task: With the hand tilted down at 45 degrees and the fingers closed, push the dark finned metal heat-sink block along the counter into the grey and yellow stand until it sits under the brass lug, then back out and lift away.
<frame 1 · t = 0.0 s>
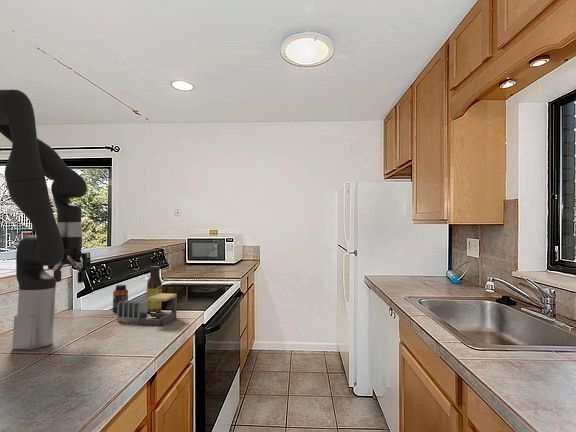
hand: (69, 282, 120), 17 cm above the worktop, tool pointing down, fingers open, 8 cm apart
grey and yellow stand: (156, 321, 136), on the worktop
heatsink block: (132, 320, 137), on the worktop
supplement bottle: (120, 311, 152), on the worktop
sauce bottle: (153, 312, 152), on the worktop
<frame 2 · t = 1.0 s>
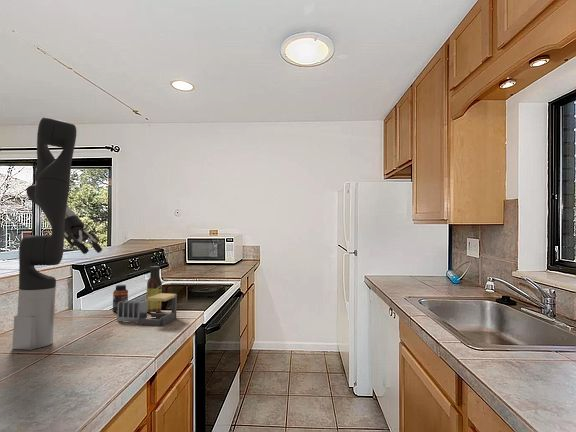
hand: (93, 251, 135), 27 cm above the worktop, tool tilted 45°, fingers open, 7 cm apart
nothing on the worktop moved.
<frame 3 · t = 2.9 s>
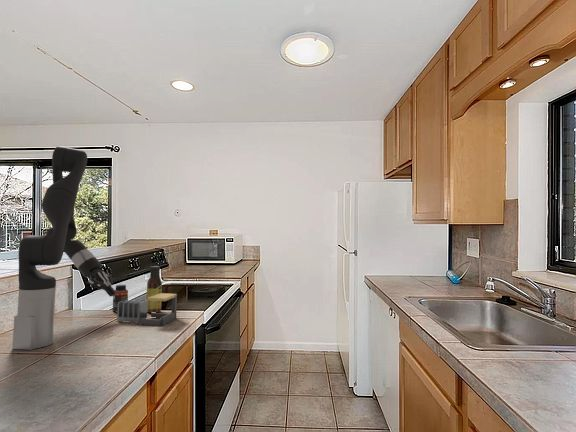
hand: (113, 294, 139), 10 cm above the worktop, tool tilted 45°, fingers closed
nothing on the worktop moved.
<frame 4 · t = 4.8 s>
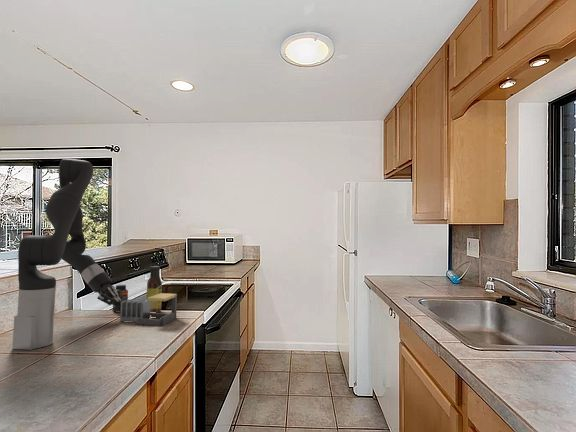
hand: (123, 310, 137), 4 cm above the worktop, tool tilted 45°, fingers closed
heatsink block: (135, 320, 137), on the worktop, touching gripper
everything else where it was.
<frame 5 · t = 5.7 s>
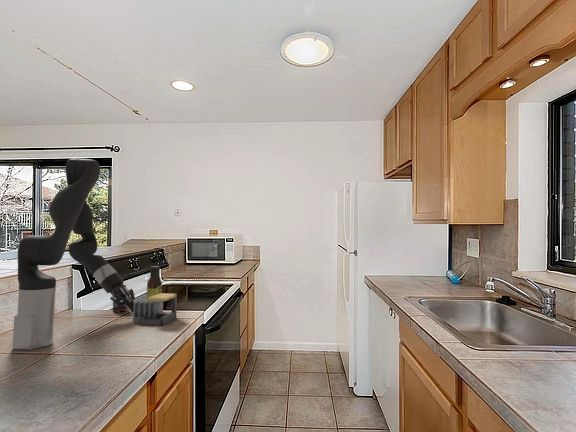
hand: (136, 310, 137), 4 cm above the worktop, tool tilted 45°, fingers closed
heatsink block: (147, 320, 136), on the worktop, touching gripper
everything else where it was.
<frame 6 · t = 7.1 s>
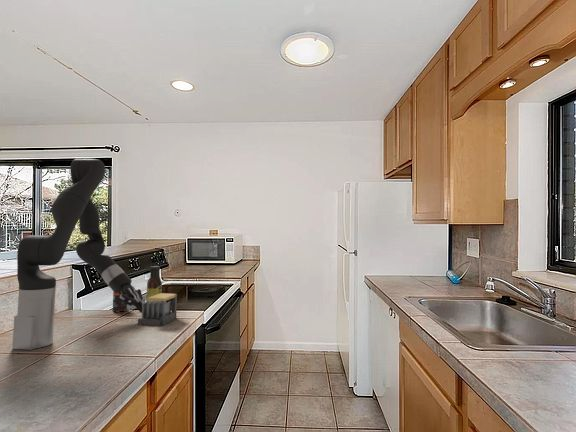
hand: (144, 310, 136), 4 cm above the worktop, tool tilted 45°, fingers closed
heatsink block: (156, 321, 136), on the worktop, touching gripper
everything else where it was.
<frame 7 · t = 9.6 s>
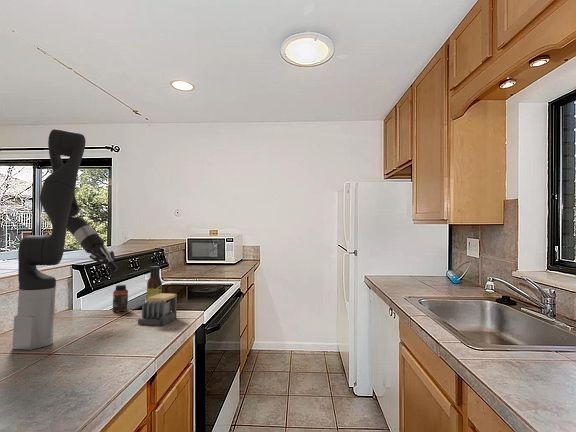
hand: (115, 270, 139), 19 cm above the worktop, tool tilted 45°, fingers closed
heatsink block: (156, 321, 136), on the worktop
everything else where it was.
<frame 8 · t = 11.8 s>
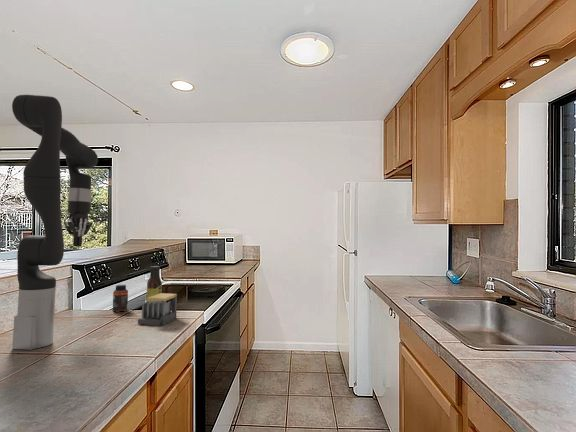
hand: (77, 246, 131), 29 cm above the worktop, tool pointing down, fingers closed
nothing on the worktop moved.
at the end: heatsink block 0.5 cm from the target spot, on the worktop; heatsink block tilted 0° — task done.
